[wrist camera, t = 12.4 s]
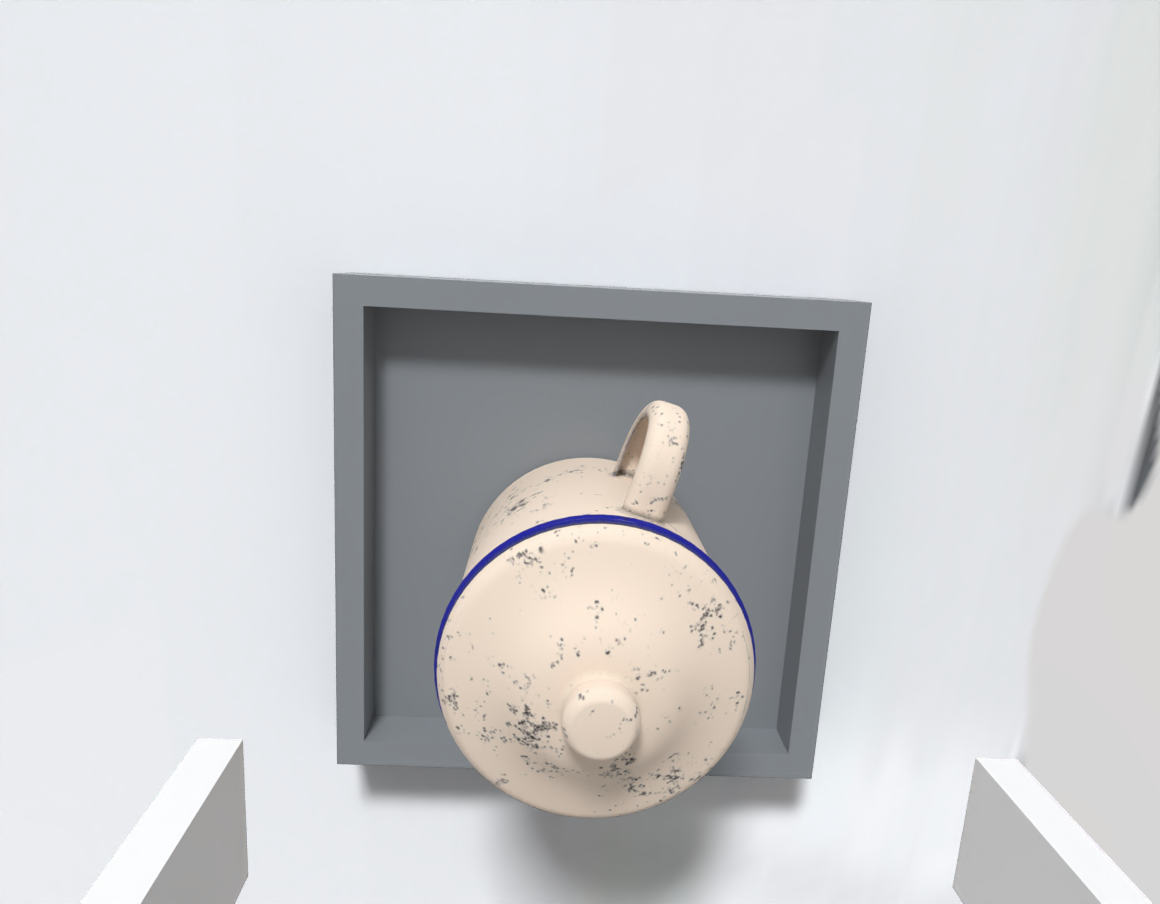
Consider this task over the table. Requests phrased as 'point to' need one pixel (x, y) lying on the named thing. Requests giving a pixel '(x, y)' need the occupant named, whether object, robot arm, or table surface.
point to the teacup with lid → (595, 635)
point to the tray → (582, 430)
